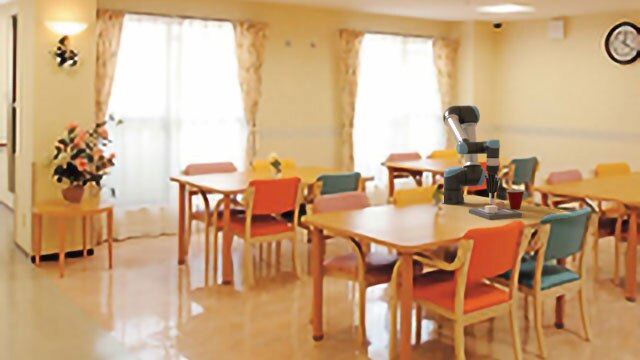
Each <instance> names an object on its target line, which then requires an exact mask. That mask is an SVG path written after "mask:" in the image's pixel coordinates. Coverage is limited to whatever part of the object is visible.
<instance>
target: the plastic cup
mask: <svg viewBox="0 0 640 360" xmlns="http://www.w3.org/2000/svg"><path fill="white" fill-rule="evenodd" d="M524 192H525V189H508V190H506V193H507V197H508V198H507V199H508V204H509V209H511V210H515V211H519V210H521V207H522V202H523V197H524Z"/></svg>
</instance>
